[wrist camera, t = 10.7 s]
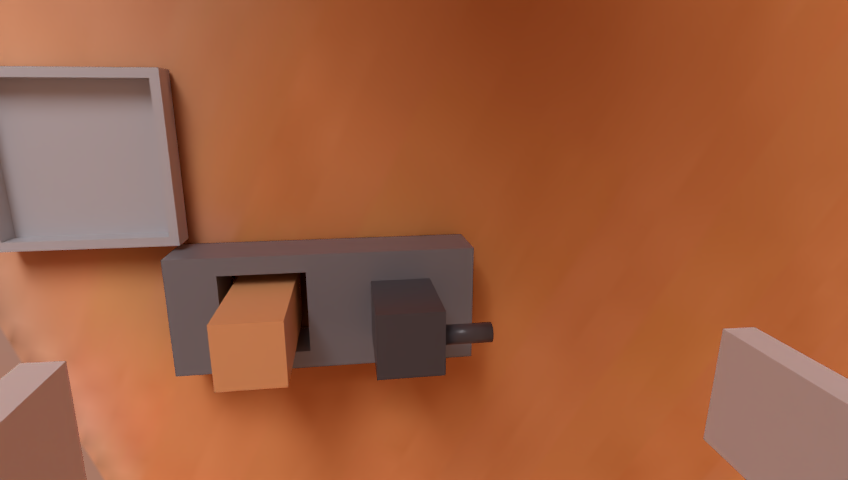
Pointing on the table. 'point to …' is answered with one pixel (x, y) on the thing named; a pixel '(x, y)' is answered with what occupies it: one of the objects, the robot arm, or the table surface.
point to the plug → (256, 333)
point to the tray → (88, 159)
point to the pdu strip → (339, 300)
